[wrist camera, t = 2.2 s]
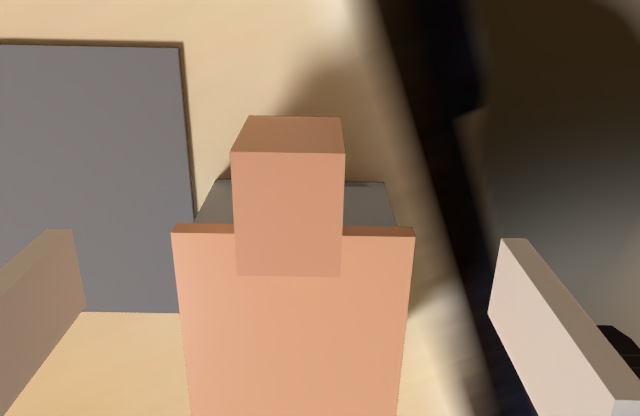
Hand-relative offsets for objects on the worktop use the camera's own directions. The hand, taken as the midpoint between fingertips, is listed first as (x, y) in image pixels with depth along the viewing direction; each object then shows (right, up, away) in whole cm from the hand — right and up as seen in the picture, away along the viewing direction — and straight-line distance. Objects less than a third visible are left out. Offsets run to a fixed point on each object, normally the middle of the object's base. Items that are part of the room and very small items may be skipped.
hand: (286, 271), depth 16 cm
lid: (0, -2, +10) cm, 10 cm away
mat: (-13, +3, +15) cm, 20 cm away
